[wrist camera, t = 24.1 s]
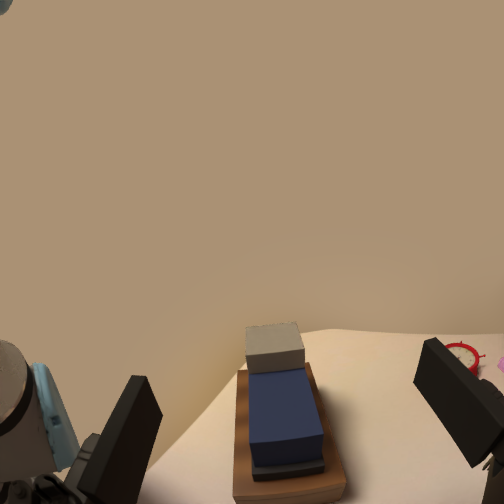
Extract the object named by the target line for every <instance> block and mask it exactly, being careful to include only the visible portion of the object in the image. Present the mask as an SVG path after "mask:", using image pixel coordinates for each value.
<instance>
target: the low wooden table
mask: <svg viewBox="0 0 504 504" xmlns="http://www.w3.org/2000/svg"><path fill="white" fill-rule="evenodd" d="M305 370H306V373H307V376H308V380H309V383H310V387H311V390H312V394H313V397H314V400H315V404H316V407H317V411H318V414H319V418H320V421H321V425H322V428H323V432H324V438H323V446H322V454H323V458H324V462H325V469H324V473H320V474H315V475H309V476H303V477H296V478H289V479H280V480H270V481H256V482H254V481H253V477H252V464H251V450H250V446H249V384H248V370H238V373H237V395H236V418H235V442H234V468H233V498H234V500H235V502H236V504H327V503H332V502H337V501H339V500H340V497H341V495H342V492H343V490H344V487H345V484H346V482H347V481H346V478H345V475H344V471H343V468H342V465H341V461H340V458H339V455H338V452H337V448H336V445H335V442H334V439H333V435H332V432H331V429H330V426H329V423H328V419H327V416H326V413H325V410H324V407H323V404H322V401H321V398H320V394H319V391H318V388H317V385H316V382H315V379H314V376H313V373H312V370H311V367H310V364H309V362H307V363H305Z"/></svg>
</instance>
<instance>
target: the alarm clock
mask: <svg viewBox="0 0 504 504" xmlns="http://www.w3.org/2000/svg"><path fill="white" fill-rule="evenodd" d="M445 346H446V347H447V348H448V349H449V350H450V351H451V352H452V353H453V354H454V355H455V356H456V357H457V358H458V359H459V360H460V361H461V362H462V363H463V364H464V365H465V366H466V367H467V368H468V369H469V370H470V371H471V372H472V373H473V374H474V375H475V376H477V366H478V364H479V358H480V357H483V356H484V357H485V355H483V356H479V354H478V352H477V351H476V350H475V349H474V348H473V347H471V346H469V345H466V344H463V343H462V341H461V342H460V343H451V344H448V345H445Z"/></svg>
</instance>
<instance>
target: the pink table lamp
mask: <svg viewBox="0 0 504 504" xmlns="http://www.w3.org/2000/svg"><path fill="white" fill-rule="evenodd" d="M498 367H499V368H500V369H501V370H502V371H503V372H504V357H503V358H501V359H500V361H499V364H498Z"/></svg>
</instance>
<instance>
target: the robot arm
mask: <svg viewBox="0 0 504 504" xmlns="http://www.w3.org/2000/svg"><path fill="white" fill-rule="evenodd" d="M12 1H13V0H0V15H3V14H4V13H5V12H6V11H7V10H8V9H9V6H10V5H11V3H12ZM413 383H414V384H415V386H416V387H417V389H418V390H419V391H420V393H421V394H422V395H423V397H424V398H425V400H426V401H427V402H428V404H429V405H430V407H431V408H432V409H433V411H434V412H435V414H436V415H437V417H438V418H439V419H440V421H441V422H442V424H443V425H444V427H445V428H446V430H447V431H448V433H449V434H450V435H451V437H452V438H453V440H454V441H455V443H456V444H457V446H458V448H459V449H460V451H461V452H462V454H463V455H464V457H465V458H466V460H467V461H468V463H469V465H470V466H471V468H474V467H475V466H477V465H478V464H480V463H481V462H482V461H484V460H485V459H486V457H487V456H488V455H489V454H490V453H492V454H493V456H492V457H491V458H490V459H489V461H488V462H487V463H486V464H485V465H484V467H483V469H482V470H485V469H486V468H487V467H488V465H489V464H490V466H489V468H488V469H487V470H489V472H488V477H487V482H486V487H485V491H484V496H483V500H482V504H504V396H503V394H502V393H501V392H500V391H498V389H497V388H496V387H495V386H494V385H493V384H492V383H491V382H489V381H487V380H485V379H482V380H479V379H478V378H477V377H476V376H475V375H474V374H473V373H472V372H471V371H470V370H469V369H468V368H467V367H466V366H465V365H464V364H463V363H462V362H461V361H460V360H459V359H458V358H457V357H456V356H455V355H454V354H453V353H452V352H451V351H450V350H449V349H448V348H447V347H446V346H444V345H443V344H442V343H441V342H440V341H439V340H438V339H437V338H436V337H435V338H432V339H428V340H425V341H424V344H423V348H422V352H421V356H420V360H419V364H418V367H417V371H416V374H415V378H414V381H413ZM162 417H163V414H162V412H161V410H160V408H159V406H158V403H157V401H156V399H155V396H154V394H153V392H152V389H151V387H150V384H149V382H148V379H147V377H146V376H135V375H132V376H131V378H130V379H129V381H128V383H127V385H126V387H125V389H124V391H123V393H122V394H121V396H120V398H119V400H118V402H117V404H116V406H115V408H114V410H113V412H112V414H111V416H110V418H109V419H108V422H107V423H106V425H105V427H104V430H103V431H102V433H101V435H99V434H95V433H92V434H91V435H90V436H89V437H88V438H87V439H86V440H85V441H84V443H83V445H82V447H81V448H80V446H79V443H78V440H77V437H76V435H75V432H74V430H73V427H72V425H71V422H70V420H69V417H68V415H67V412H66V409H65V407H64V404H63V402H62V399H61V397H60V394H59V392H58V389H57V387H56V384H55V382H54V380H53V377H52V375H51V373H50V371H49V369H48V367H47V366H46V365H44V364H42V363H33V365H31V366H29V365H28V364H27V362H26V360H25V359H24V357H23V355H22V353H21V352H20V350H19V349H18V348H17V347H15V345H13V344H11V343H9V342H7V341H3V340H0V504H136V503H137V500H138V496H139V492H140V489H141V485H142V482H143V479H144V475H145V472H146V468H147V465H148V461H149V458H150V455H151V452H152V448H153V445H154V442H155V439H156V435H157V433H158V429H159V426H160V423H161V420H162ZM68 467H71V468H70V470H69V472H68V474H67V477H66V478H65V480H64V482H63V483H62V482H61V481H60V480H59V479H58V478H57V477H55V476H54V475H52V474H49V473H53V472H61V471H62V470H63V469H65V468H68ZM35 476H37V477H36V478H35V479H33V478H31V477H35Z"/></svg>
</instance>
